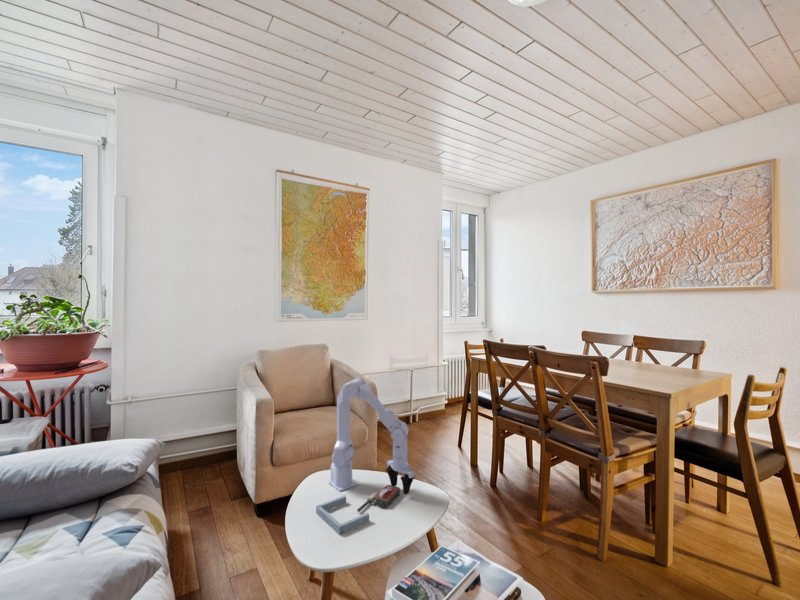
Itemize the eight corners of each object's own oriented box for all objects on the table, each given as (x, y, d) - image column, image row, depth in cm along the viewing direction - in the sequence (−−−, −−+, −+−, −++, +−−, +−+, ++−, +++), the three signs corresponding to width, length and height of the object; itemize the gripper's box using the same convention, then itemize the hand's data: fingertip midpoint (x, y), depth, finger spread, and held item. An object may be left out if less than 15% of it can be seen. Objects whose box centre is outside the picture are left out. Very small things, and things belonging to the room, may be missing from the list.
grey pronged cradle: (316, 513, 136) (316, 506, 136) (344, 502, 143) (344, 495, 143) (339, 534, 123) (339, 527, 123) (369, 521, 130) (369, 514, 130)
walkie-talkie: (383, 489, 153) (355, 513, 136) (383, 478, 153) (355, 501, 136) (402, 494, 149) (376, 520, 132) (402, 483, 149) (376, 507, 132)
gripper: (419, 458, 146) (420, 493, 146) (396, 447, 158) (396, 479, 158) (406, 463, 142) (406, 499, 142) (382, 451, 153) (382, 485, 153)
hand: (400, 489), depth 150 cm, fingers open, 7 cm apart
